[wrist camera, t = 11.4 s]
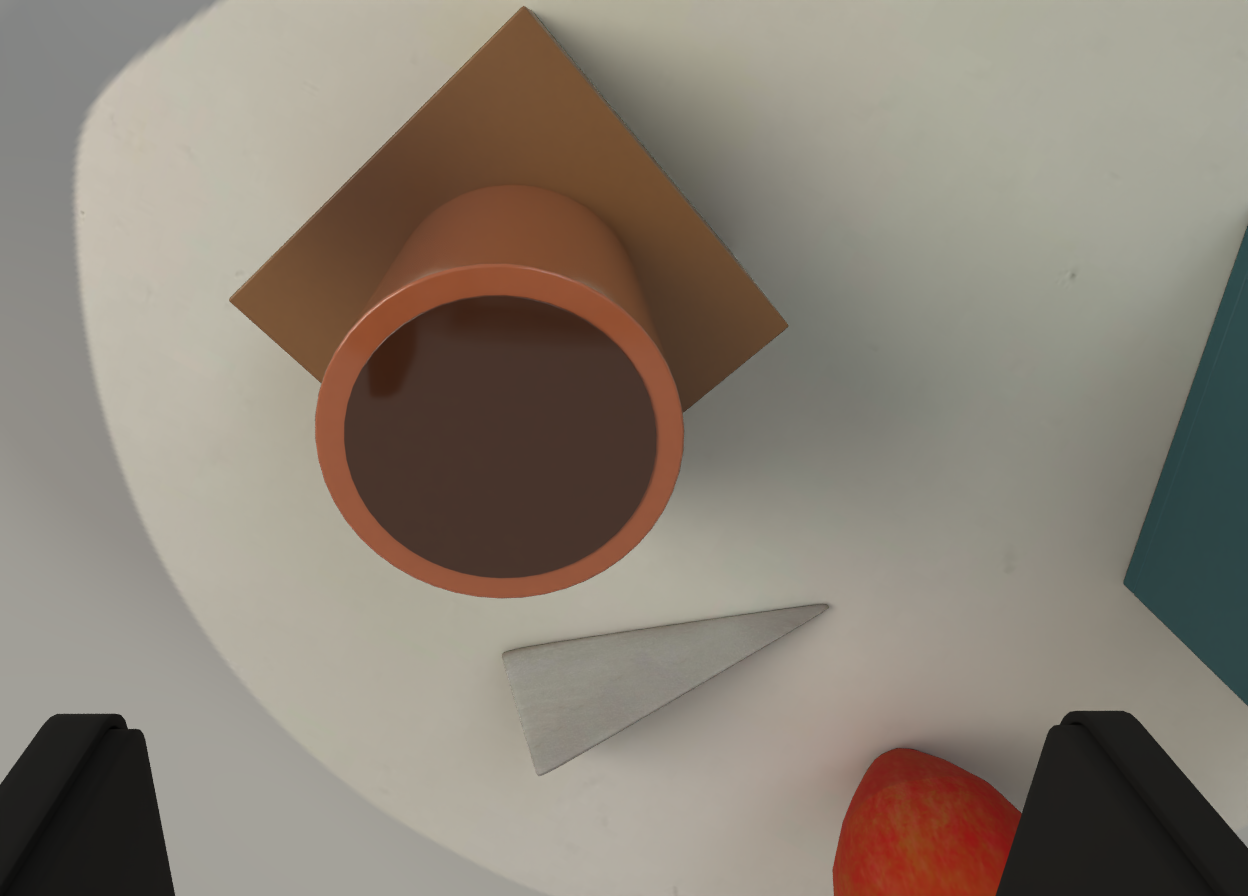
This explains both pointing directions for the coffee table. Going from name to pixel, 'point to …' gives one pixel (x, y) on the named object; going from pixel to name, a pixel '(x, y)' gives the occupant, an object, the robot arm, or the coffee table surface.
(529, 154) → the stand
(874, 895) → the apple
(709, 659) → the grey triangular spike
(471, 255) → the cup
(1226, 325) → the cool box
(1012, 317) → the coffee table surface
